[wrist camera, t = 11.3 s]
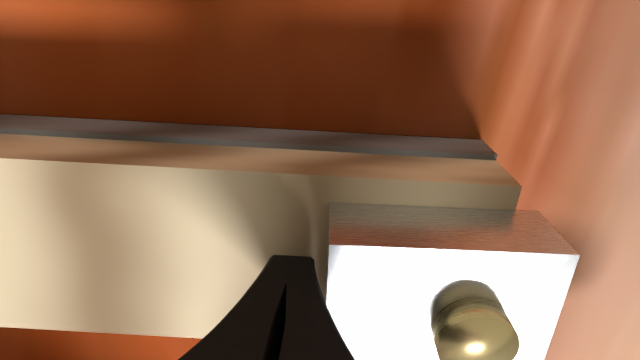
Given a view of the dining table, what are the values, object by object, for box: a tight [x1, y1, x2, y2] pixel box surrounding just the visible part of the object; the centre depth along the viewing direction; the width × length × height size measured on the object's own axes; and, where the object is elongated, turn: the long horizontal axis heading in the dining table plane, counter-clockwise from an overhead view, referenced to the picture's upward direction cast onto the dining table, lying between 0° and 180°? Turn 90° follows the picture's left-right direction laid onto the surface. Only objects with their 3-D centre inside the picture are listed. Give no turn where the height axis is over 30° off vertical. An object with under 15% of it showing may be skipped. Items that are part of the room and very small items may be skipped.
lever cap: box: [325, 203, 580, 360], centre depth 11 cm, size 5×6×3 cm
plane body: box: [0, 114, 522, 338], centre depth 14 cm, size 24×7×4 cm, turn 87°
